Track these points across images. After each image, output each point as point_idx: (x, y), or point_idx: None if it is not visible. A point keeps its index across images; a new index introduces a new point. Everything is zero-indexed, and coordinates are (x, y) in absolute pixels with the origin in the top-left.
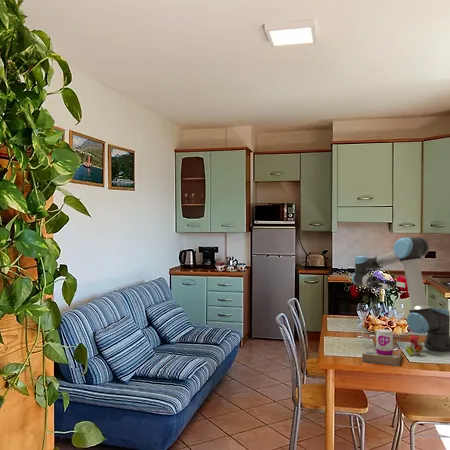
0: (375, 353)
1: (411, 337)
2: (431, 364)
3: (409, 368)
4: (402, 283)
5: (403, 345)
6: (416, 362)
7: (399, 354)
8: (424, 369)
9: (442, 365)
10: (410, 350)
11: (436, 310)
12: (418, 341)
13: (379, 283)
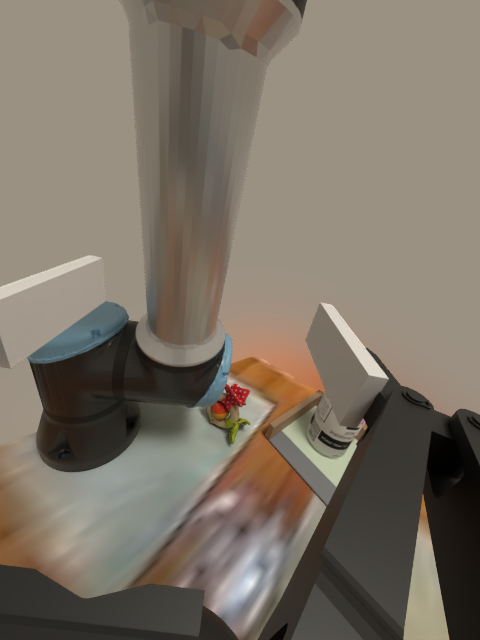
0: (326, 491)
1: (238, 397)
2: (246, 377)
3: (301, 387)
4: (87, 272)
5: (150, 522)
6: (264, 396)
7: (303, 402)
8: (279, 373)
9: (233, 366)
10: (241, 418)
11: (127, 314)
12: (222, 394)
13: (376, 368)
